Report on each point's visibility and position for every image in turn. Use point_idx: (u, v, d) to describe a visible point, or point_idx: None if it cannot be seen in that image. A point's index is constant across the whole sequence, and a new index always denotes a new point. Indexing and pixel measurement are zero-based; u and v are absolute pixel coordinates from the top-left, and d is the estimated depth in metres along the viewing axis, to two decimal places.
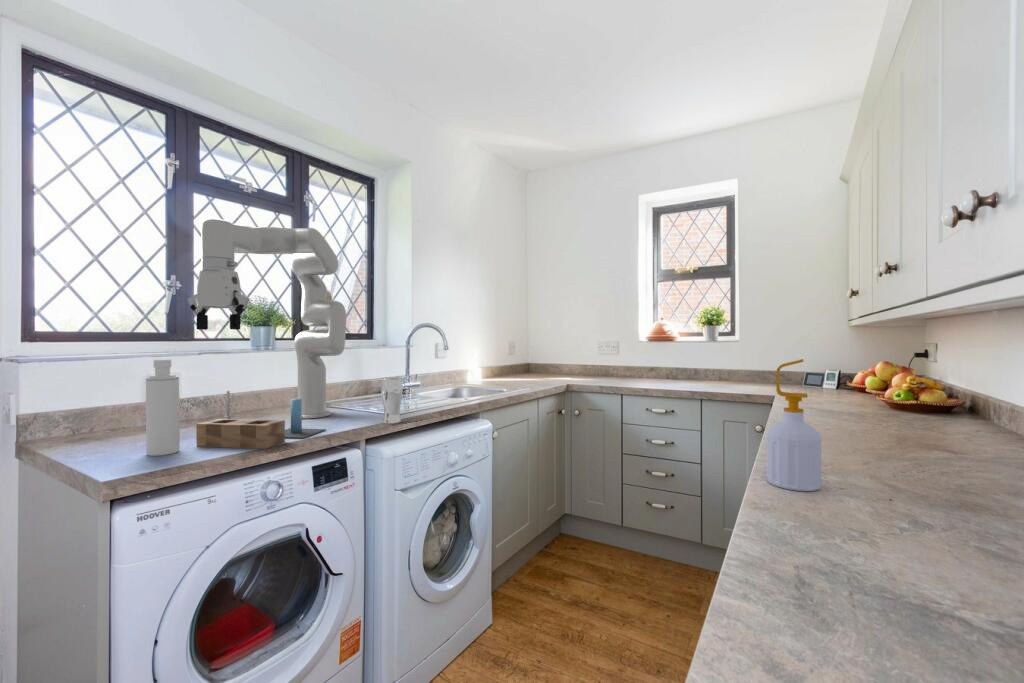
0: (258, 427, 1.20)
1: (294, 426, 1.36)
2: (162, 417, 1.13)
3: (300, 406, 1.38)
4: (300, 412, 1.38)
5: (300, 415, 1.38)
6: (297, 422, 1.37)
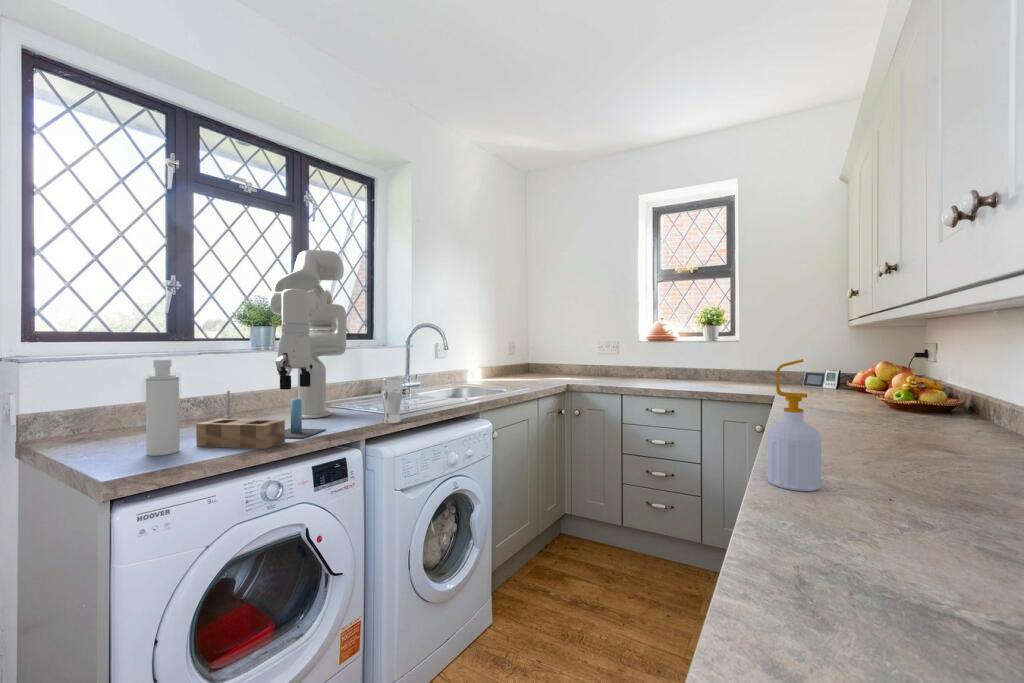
0: (258, 427, 1.20)
1: (294, 426, 1.36)
2: (162, 417, 1.13)
3: (300, 406, 1.38)
4: (300, 412, 1.38)
5: (300, 415, 1.38)
6: (297, 422, 1.37)
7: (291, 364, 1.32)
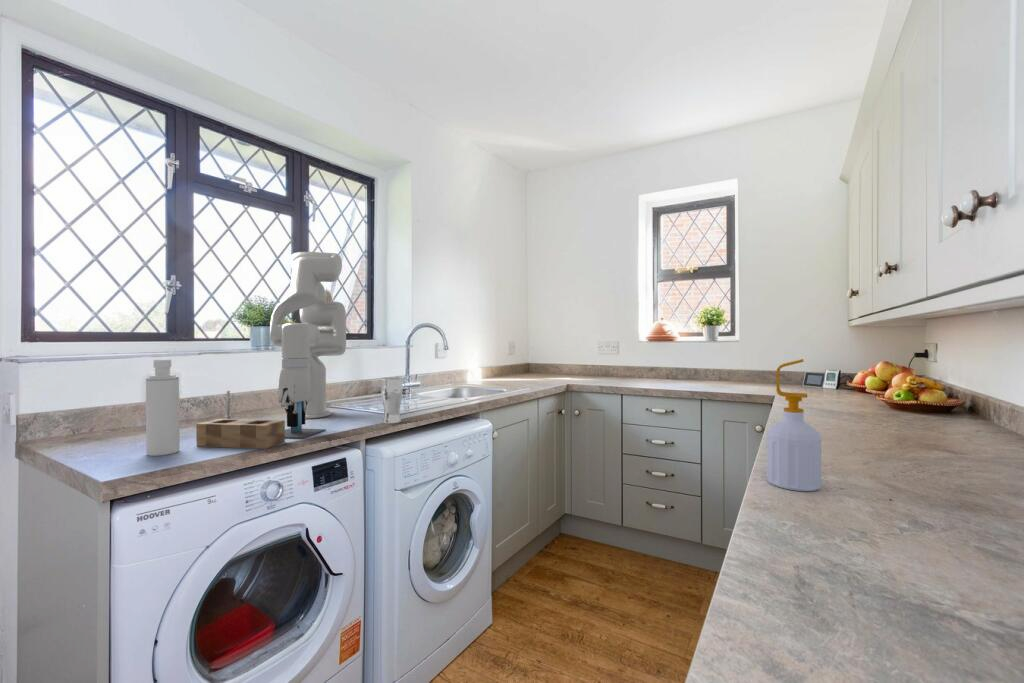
0: (258, 427, 1.20)
1: None
2: (162, 417, 1.13)
3: (300, 406, 1.38)
4: (300, 412, 1.38)
5: (300, 415, 1.38)
6: None
7: (291, 399, 1.33)
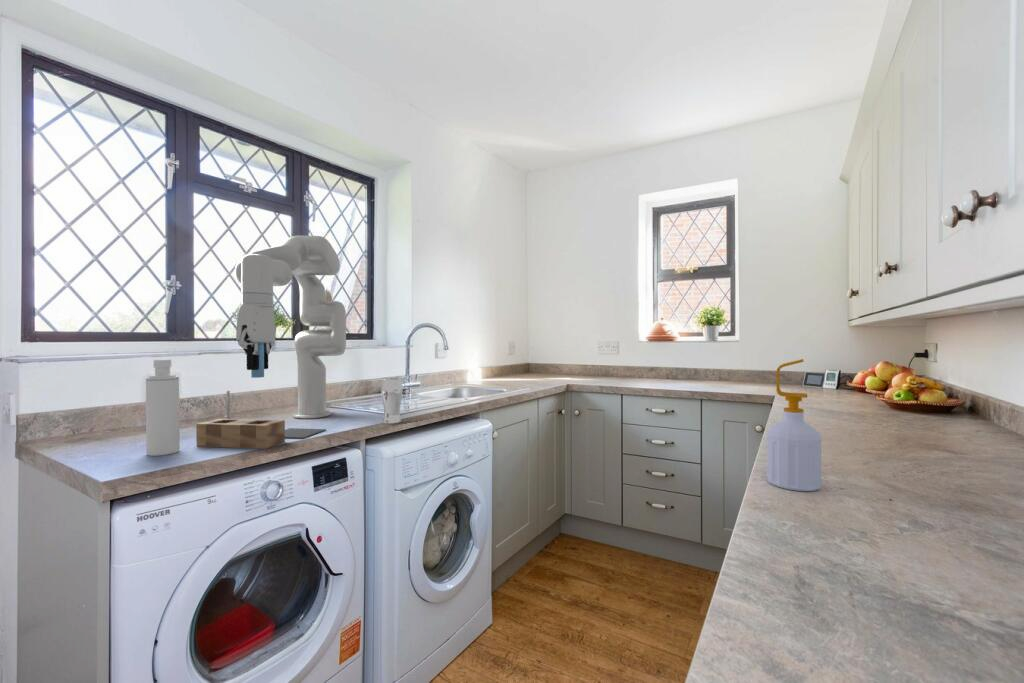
0: (258, 427, 1.20)
1: None
2: (162, 417, 1.13)
3: (262, 347, 1.24)
4: (262, 354, 1.24)
5: (262, 357, 1.24)
6: (259, 365, 1.23)
7: (251, 338, 1.19)
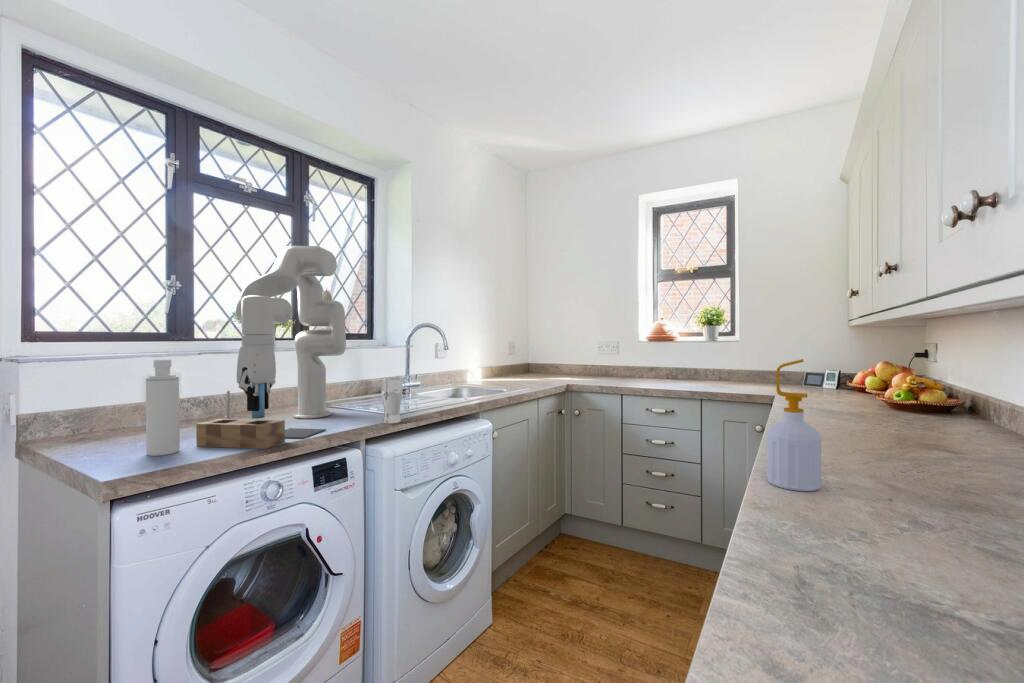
0: (258, 427, 1.20)
1: None
2: (162, 417, 1.13)
3: (262, 388, 1.24)
4: (262, 395, 1.24)
5: (262, 398, 1.24)
6: (259, 406, 1.23)
7: (251, 380, 1.19)
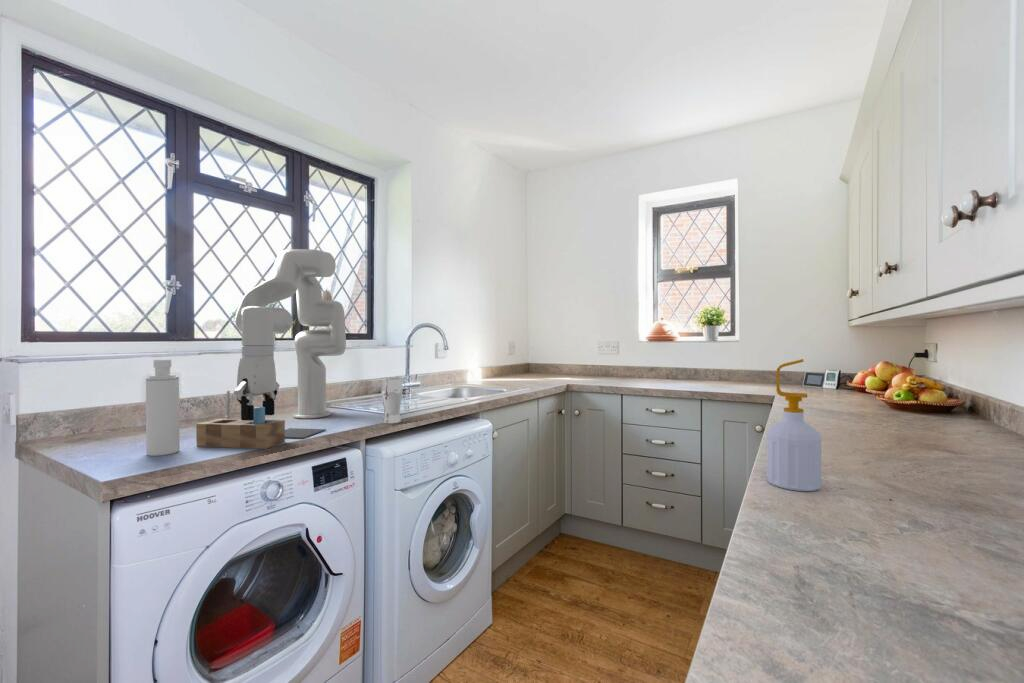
0: (258, 427, 1.20)
1: None
2: (162, 417, 1.13)
3: (263, 415, 1.24)
4: (263, 422, 1.24)
5: None
6: None
7: (252, 391, 1.19)
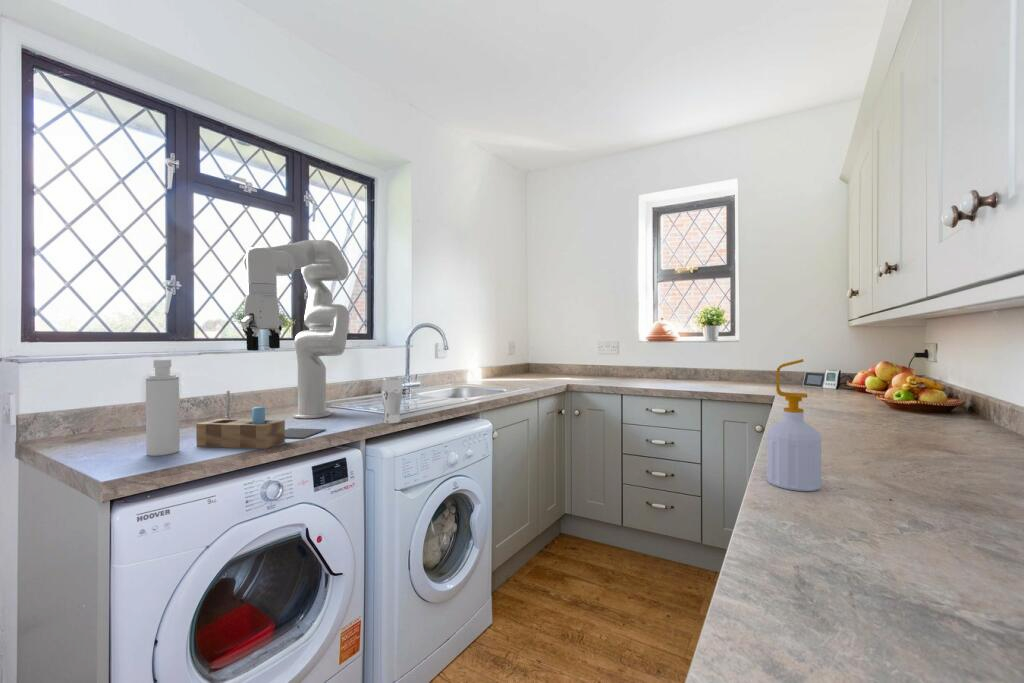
0: (258, 427, 1.20)
1: None
2: (162, 417, 1.13)
3: (263, 415, 1.24)
4: (263, 422, 1.24)
5: None
6: None
7: (258, 325, 1.30)
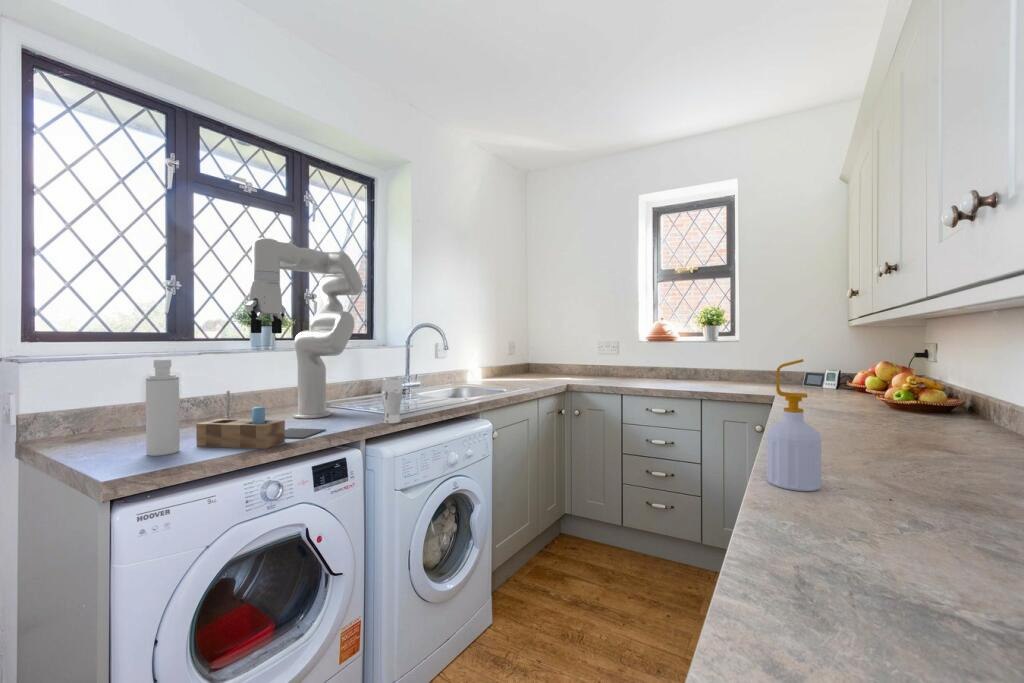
0: (258, 427, 1.20)
1: None
2: (162, 417, 1.13)
3: (263, 415, 1.24)
4: (263, 422, 1.24)
5: None
6: None
7: (261, 309, 1.39)
